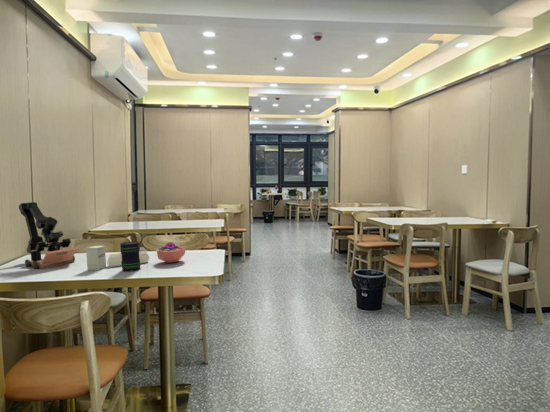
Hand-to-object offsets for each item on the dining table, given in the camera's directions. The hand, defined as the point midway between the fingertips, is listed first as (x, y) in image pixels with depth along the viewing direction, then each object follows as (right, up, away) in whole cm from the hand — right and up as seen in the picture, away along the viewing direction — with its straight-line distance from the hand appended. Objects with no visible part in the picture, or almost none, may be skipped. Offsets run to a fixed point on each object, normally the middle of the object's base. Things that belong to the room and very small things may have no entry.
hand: (58, 255), depth 247 cm
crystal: (+42, -5, -2) cm, 43 cm away
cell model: (+67, -4, -1) cm, 67 cm away
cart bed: (-9, -6, +8) cm, 14 cm away
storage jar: (+49, -6, -18) cm, 53 cm away
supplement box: (+28, -6, -12) cm, 31 cm away
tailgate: (-2, -4, +2) cm, 5 cm away
